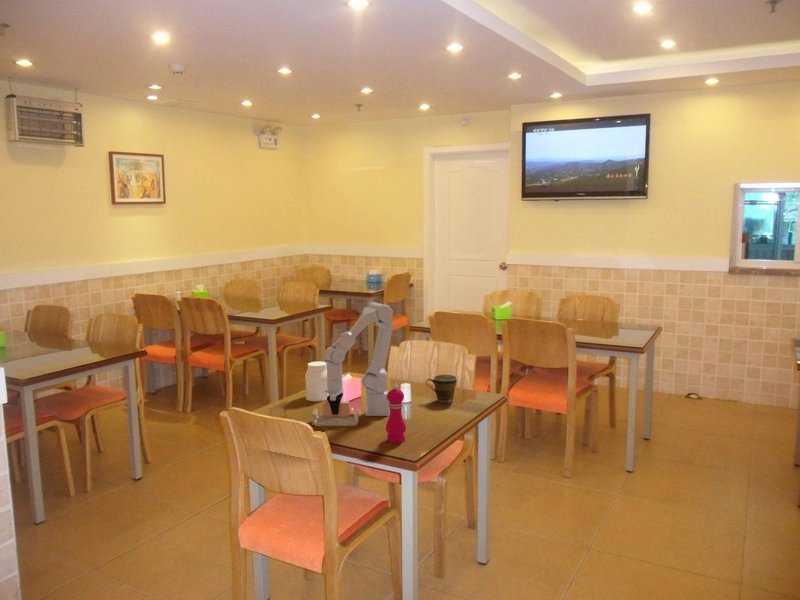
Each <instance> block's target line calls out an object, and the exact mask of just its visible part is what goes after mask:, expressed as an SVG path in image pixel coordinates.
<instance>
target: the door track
mask: <svg viewBox="0 0 800 600" xmlns="http://www.w3.org/2000/svg"><path fill="white" fill-rule="evenodd" d="M359 409H360V408H359V407H358V408H357V407H356V408H355V412H354V413H350V417H333V418H323V413H318V408H314V409H313V411H312V413H311V417H312V418H311V422H312V423H311V425H315V426H314V427H355V426H358V425H359V420H360V410H359Z"/></svg>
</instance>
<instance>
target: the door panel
mask: <svg viewBox="0 0 800 600" xmlns="http://www.w3.org/2000/svg"><path fill="white" fill-rule="evenodd" d="M350 405H351V403H350V401H347V400H344V401H342V400H341V401H340V405H339V412H338V415H332V411H331V407H330V404H329V402H328V400H326V401H322V414H323V418H333V417H350V414H351V407H350Z"/></svg>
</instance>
